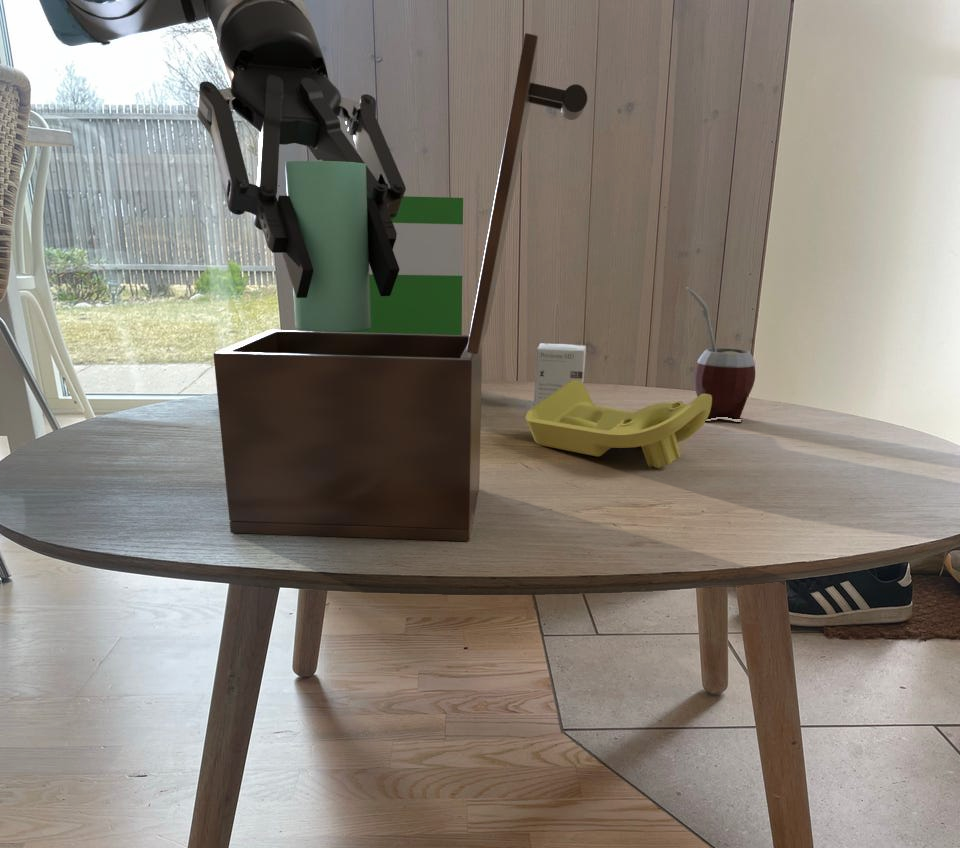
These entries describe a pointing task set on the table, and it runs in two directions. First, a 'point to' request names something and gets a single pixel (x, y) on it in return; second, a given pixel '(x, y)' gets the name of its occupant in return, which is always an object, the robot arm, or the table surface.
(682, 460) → the table surface
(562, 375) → the product carton
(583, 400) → the plastic component
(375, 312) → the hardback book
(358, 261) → the green cylinder
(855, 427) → the table surface
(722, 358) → the mate gourd
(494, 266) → the lid
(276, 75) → the robot arm
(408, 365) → the chest
